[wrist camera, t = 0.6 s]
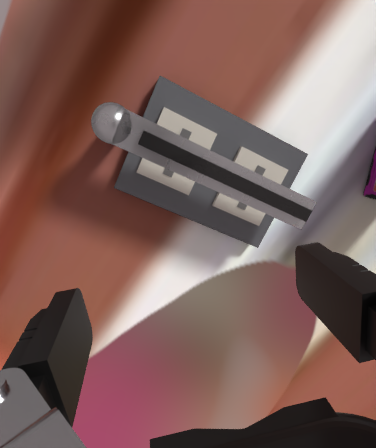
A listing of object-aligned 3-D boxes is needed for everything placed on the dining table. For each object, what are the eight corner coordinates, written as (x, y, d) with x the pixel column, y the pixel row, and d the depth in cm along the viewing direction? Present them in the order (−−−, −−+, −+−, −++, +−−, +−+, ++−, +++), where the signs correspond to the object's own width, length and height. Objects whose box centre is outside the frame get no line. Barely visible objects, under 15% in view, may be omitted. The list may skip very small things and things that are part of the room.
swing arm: (89, 133, 27) (83, 133, 24) (102, 97, 26) (98, 93, 24) (291, 224, 32) (304, 233, 30) (306, 197, 32) (321, 203, 29)
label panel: (158, 78, 32) (160, 74, 29) (299, 153, 36) (311, 154, 34) (115, 184, 34) (113, 188, 32) (252, 242, 39) (259, 249, 36)
